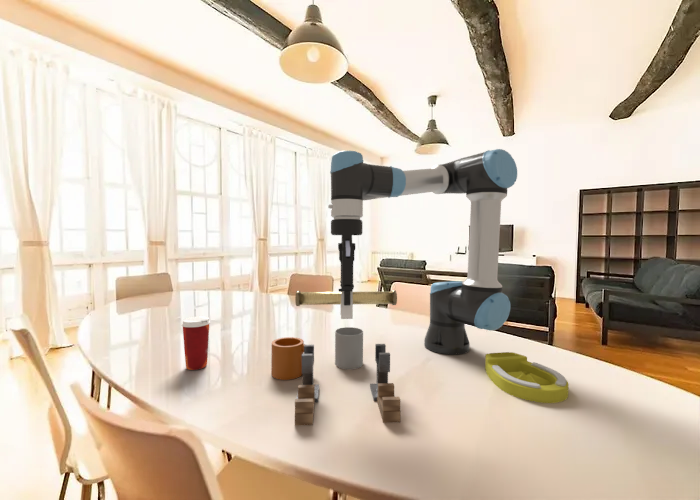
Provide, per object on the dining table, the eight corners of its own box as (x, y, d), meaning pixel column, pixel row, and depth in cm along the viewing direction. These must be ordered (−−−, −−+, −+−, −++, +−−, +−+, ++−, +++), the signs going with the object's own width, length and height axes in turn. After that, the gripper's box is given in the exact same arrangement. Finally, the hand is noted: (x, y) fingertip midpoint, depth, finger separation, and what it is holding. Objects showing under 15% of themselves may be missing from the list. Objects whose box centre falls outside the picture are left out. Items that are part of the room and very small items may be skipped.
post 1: (318, 388, 81) (319, 344, 80) (317, 403, 73) (318, 355, 73) (299, 388, 80) (299, 344, 80) (295, 403, 73) (296, 355, 73)
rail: (394, 303, 79) (394, 289, 79) (397, 306, 76) (397, 291, 75) (296, 304, 78) (296, 289, 78) (295, 307, 74) (295, 292, 74)
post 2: (389, 386, 82) (389, 343, 81) (395, 401, 75) (395, 354, 74) (369, 387, 82) (370, 343, 81) (373, 401, 74) (374, 354, 74)
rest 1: (314, 405, 73) (314, 384, 72) (312, 425, 65) (312, 402, 64) (298, 405, 72) (298, 384, 72) (294, 426, 64) (294, 402, 64)
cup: (360, 370, 92) (360, 336, 91) (332, 368, 93) (332, 334, 93) (364, 359, 100) (364, 328, 99) (339, 357, 102) (339, 326, 101)
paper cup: (216, 363, 96) (216, 317, 95) (194, 373, 89) (194, 323, 88) (198, 359, 99) (197, 314, 98) (175, 368, 92) (174, 320, 91)
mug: (302, 385, 82) (302, 350, 82) (264, 376, 87) (264, 344, 87) (319, 371, 91) (319, 340, 90) (283, 364, 95) (283, 335, 95)
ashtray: (523, 367, 96) (523, 351, 95) (585, 403, 75) (586, 382, 75) (472, 371, 93) (473, 354, 93) (523, 409, 72) (523, 387, 72)
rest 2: (392, 403, 74) (393, 382, 73) (400, 423, 66) (400, 400, 66) (377, 403, 73) (377, 382, 73) (383, 424, 65) (383, 400, 65)
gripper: (330, 220, 84) (330, 309, 85) (330, 216, 68) (330, 326, 69) (359, 220, 84) (358, 308, 85) (366, 216, 68) (365, 325, 69)
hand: (346, 316), depth 77 cm, fingers closed on rail, 3 cm apart
